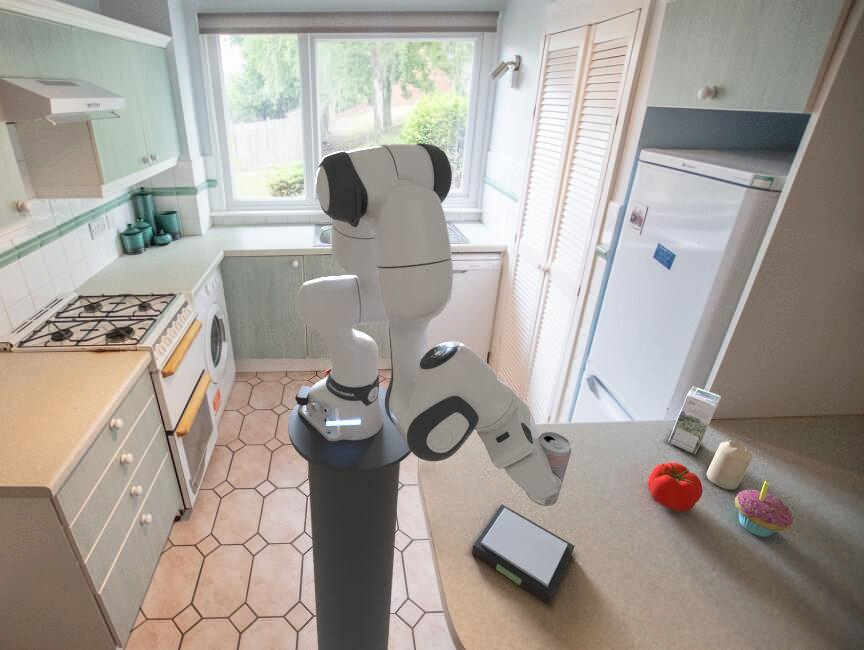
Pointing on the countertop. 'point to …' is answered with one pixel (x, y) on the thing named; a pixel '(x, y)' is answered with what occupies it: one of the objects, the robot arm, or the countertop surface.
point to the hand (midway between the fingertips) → (551, 468)
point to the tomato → (674, 486)
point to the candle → (729, 464)
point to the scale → (524, 552)
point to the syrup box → (694, 419)
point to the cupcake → (762, 512)
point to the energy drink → (554, 460)
